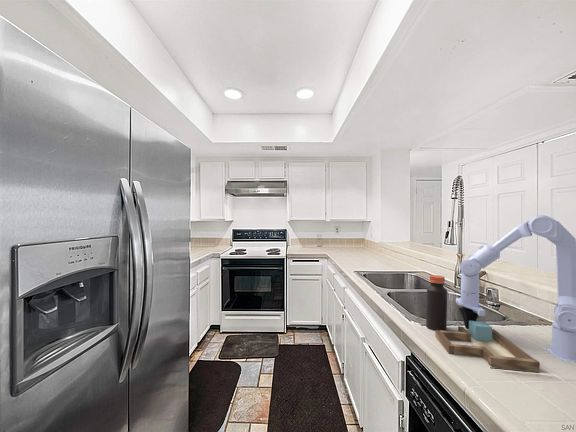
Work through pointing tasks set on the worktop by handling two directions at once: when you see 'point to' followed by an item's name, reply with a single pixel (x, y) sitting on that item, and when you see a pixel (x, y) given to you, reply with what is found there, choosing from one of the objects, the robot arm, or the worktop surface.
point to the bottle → (436, 304)
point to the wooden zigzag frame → (489, 350)
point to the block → (480, 331)
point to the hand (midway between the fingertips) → (469, 328)
